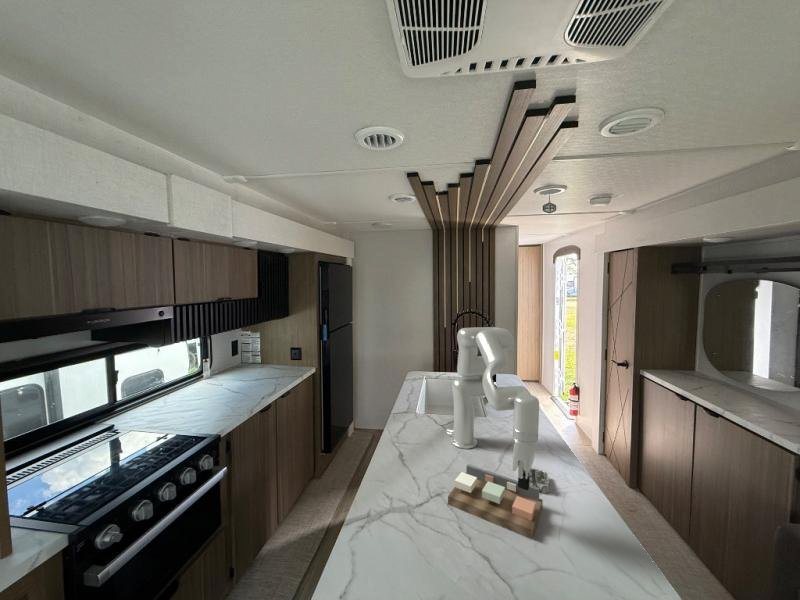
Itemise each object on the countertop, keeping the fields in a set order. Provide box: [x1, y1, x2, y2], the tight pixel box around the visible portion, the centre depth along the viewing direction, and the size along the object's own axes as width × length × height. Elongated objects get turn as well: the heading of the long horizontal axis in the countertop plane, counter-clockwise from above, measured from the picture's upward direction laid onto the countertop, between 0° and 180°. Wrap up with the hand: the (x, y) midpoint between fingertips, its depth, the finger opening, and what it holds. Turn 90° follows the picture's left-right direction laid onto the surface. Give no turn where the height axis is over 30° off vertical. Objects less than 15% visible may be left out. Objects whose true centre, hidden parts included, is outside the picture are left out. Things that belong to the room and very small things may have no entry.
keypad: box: [447, 464, 544, 540], centre depth 112 cm, size 28×16×7 cm, turn 56°
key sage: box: [482, 481, 505, 504], centre depth 111 cm, size 6×6×2 cm
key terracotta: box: [512, 496, 536, 521], centre depth 105 cm, size 6×6×2 cm
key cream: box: [454, 471, 477, 493], centre depth 116 cm, size 6×6×2 cm
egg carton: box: [529, 467, 550, 494], centre depth 124 cm, size 11×8×4 cm
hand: (523, 487), depth 105 cm, fingers closed
